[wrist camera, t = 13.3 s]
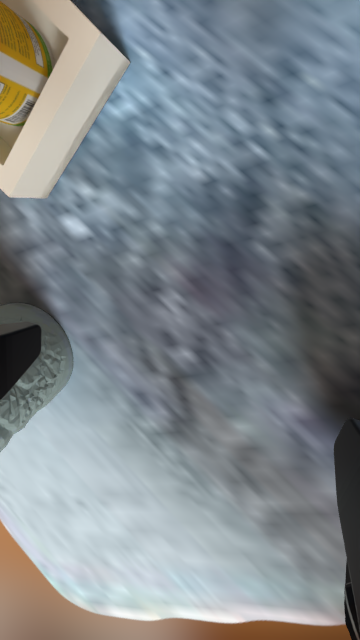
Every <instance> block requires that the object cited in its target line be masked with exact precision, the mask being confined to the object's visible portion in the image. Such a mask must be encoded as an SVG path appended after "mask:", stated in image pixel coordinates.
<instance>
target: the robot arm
mask: <svg viewBox="0 0 360 640" xmlns="http://www.w3.org/2000/svg"><path fill="white" fill-rule="evenodd" d="M41 336H42V330H41V327H40V325H38V324H35V323H32V322H27V321H26V322H17V323H9V324H0V400H1V399H2V398H3V397H4V396H5V395H6V394H7V393H8V392H9V391H10V390H11V389H12V388H13V386H14V385H15V384H16V383H17V382H18V380H19V379H20V378H21V377H22V376H23V374H24V373H25V372H26V371H27V370H28V369H29V367H30V366H31V365H32V364H33V363H34V361H35V360H36V359H37V358H38V356H39V355H40V352H41ZM334 461H335V477H336V493H337V505H338V511H339V517H340V523H341V528H342V534H343V539H344V545H345V550H346V556H347V565H346V583H345V591H344V594H345V601H344V605H345V622H346V626H347V628H348V630H349V633H350V636H351V639H352V640H360V420H357V419H353V418H349V419H347V420H346V421H345V423H344V425H343V427H342V429H341V431H340V433H339V435H338V437H337V439H336V441H335V444H334Z"/></svg>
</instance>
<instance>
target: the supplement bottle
mask: <svg viewBox="0 0 360 640" xmlns="http://www.w3.org/2000/svg"><path fill="white" fill-rule="evenodd" d="M54 67H55V62H54V58H53V55H52V52H51V50H50V48H49V46H48V44H47V42H46V40H45V39H44V37H43V36H42V35H41V34H40V32H39V31H38V30H37V29H36V28H35V27H34V26H32V25H31V24H30V23H29V22H28V21H26V20H25V19H24V18H22V17H21V16H20V15H18V14H17V13H16V12H14V11H13V10H12V9H10V8H9V7H8V6H6V5H5V4H4V3H2V2H1V1H0V122H2V123H5V124H8V125H12V126H17V127H24V125H25V123H26V121H27V119H28V117H29V115H30V113H31V111H32V109H33V107H34V105H35V104H36V102H37V100H38V98H39V96H40V94H41V92H42V90H43V88H44V86H45V84H46V82H47V80H48V79H49V77H50V75H51V73H52V71H53V69H54Z"/></svg>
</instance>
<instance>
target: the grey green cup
mask: <svg viewBox="0 0 360 640" xmlns="http://www.w3.org/2000/svg"><path fill="white" fill-rule="evenodd" d="M26 321H27V322H32V323H35V324H38V325H40V327H41V330H42V336H41V352H40V355H39V356H38V358H37V359H36V360H35V361H34V363H33V364H32V365H31V366H30V367H29V369H28V370H27V371H26V372H25V373H24V374H23V376H22V377H21V378H20V379H19V380H18V382H17V383H16V384H15V385H14V386H13V388H12V389H11V390H10V391H9V392H8V393H7V394H6V395H5V396H4V397H3V398H2V399H1V400H0V452H1V451H2V450H3V449H4V448H5V447H6V445H7V444H8V442H9V441H10V439H11V437H12V435H13V434H15V433H16V432H18V431H20V430H21V429H23V428H24V427H25V426H26V424H27V423H28V421H29V420H30V419H31V418H32V416H33V415H35V413H36V412H37V411H38V410H40V409H42V408H43V407H45V406H46V405H47V404H48V403H49V402H50V401H51V400H52V399H53V398H54V397H55V396H56V395H57V394H58V393H59V392H60V391H61V390H62V389H63V388H64V387H65V385H66V384H67V382H68V381H69V379H70V376H71V374H72V370H73V353H72V349H71V345H70V342H69V340H68V338H67V336H66V334H65V332H64V331H63V329H62V328H61V327H60V325H59V324H58V323H57V322H56V321H55V320H54V319H53V318H52V317H51V316H50V315H49V314H47V313H46V312H44V311H43V310H41V309H39V308H37V307H35V306H32V305H29V304H24V303H10V304H6V305H2V306H0V324H9V323H17V322H26Z"/></svg>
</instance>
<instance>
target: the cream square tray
mask: <svg viewBox="0 0 360 640" xmlns="http://www.w3.org/2000/svg"><path fill="white" fill-rule="evenodd" d="M0 1H1V2H2V3H4V4H5V5H6V6H8V7H9V8H10V9H12V10H13V11H14V12H16V13H17V14H18V15H20V16H21V17H22V18H24V19H25V20H26V21H28V22H29V23H30V24H31V25H32V26H34V27H35V28H36V29H37V30H38V31H39V32H40V34H41V35H42V36H43V37H44V39H45V40H46V42H47V44H48V46H49V48H50V50H51V52H52V55H53V58H54V62H55V67H54V69H53V71H52V73H51V75H50V77H49V79H48V80H47V82H46V84H45V86H44V88H43V90H42V92H41V94H40V96H39V98H38V100H37V102H36V104H35V105H34V107H33V109H32V111H31V113H30V115H29V117H28V119H27V121H26V123H25V125H24V127H17V126H12V125H8V124H5V123H2V122H0V189H1V190H2V191H3V192H4V193H5V194H6V195H7V196H8V197H14V198H47V197H48V196H49V194H50V192H51V191H52V189H53V187H54V186H55V184H56V183H57V181H58V179H59V178H60V176H61V175H62V173H63V171H64V170H65V168H66V166H67V165H68V163H69V162H70V160H71V158H72V157H73V155H74V153H75V152H76V150H77V149H78V147H79V145H80V144H81V142H82V141H83V139H84V137H85V136H86V134H87V132H88V131H89V129H90V128H91V126H92V124H93V123H94V121H95V119H96V118H97V116H98V115H99V113H100V111H101V110H102V108H103V107H104V105H105V103H106V102H107V100H108V98H109V97H110V95H111V94H112V92H113V90H114V89H115V87H116V85H117V84H118V82H119V81H120V79H121V77H122V76H123V74H124V73H125V71H126V69H127V68H128V66H129V64H130V61H129V60H128V59H127V58H126V57H125V56H124V55H123V54H122V53H121V52H120V51H119V50H118V49H117V48H116V47H115V46H114V45H113V44H112V43H111V42H110V41H109V40H108V39H107V38H106V37H105V35H104V34H103V33H102V32H101V31H100V30H99V29H98V28H97V27H96V26H95V25H94V24H93V23H92V22H91V21H90V20H89V19H88V18H87V17H86V16H85V15H84V14H83V13H82V12H81V11H80V9H79V8H78V7H77V6H76V5H75V4H74V3H73V2H72V1H71V0H0Z"/></svg>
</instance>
